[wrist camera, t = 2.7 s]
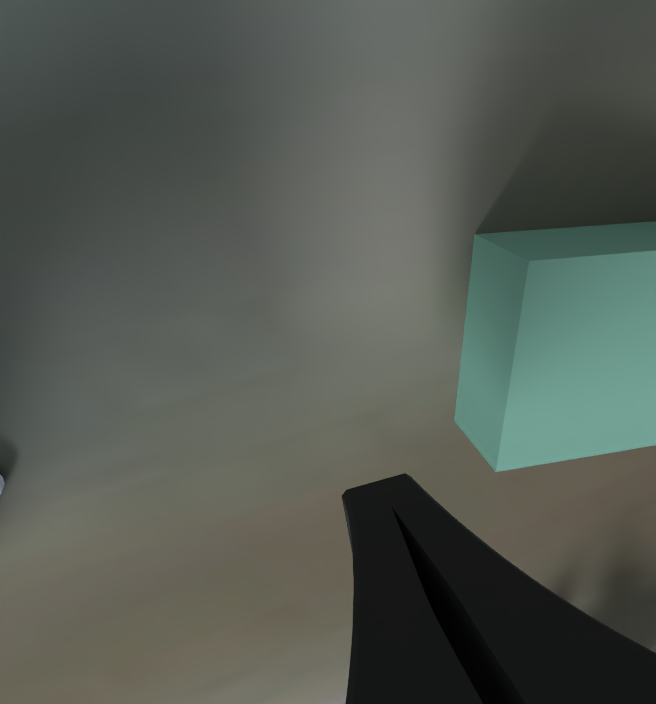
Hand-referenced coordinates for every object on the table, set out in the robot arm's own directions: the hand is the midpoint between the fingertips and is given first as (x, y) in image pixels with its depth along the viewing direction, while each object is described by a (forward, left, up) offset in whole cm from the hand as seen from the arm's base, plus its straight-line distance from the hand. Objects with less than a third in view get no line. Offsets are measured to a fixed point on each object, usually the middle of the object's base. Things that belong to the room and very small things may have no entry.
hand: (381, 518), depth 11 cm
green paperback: (+6, +6, -6) cm, 10 cm away
